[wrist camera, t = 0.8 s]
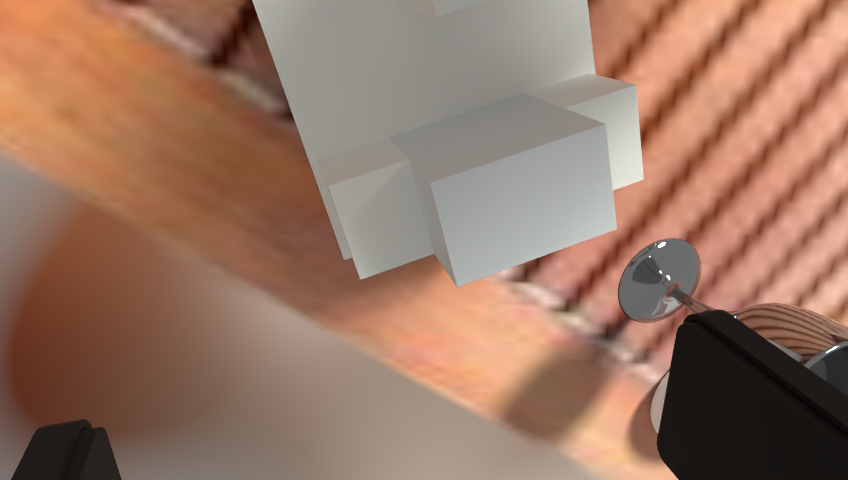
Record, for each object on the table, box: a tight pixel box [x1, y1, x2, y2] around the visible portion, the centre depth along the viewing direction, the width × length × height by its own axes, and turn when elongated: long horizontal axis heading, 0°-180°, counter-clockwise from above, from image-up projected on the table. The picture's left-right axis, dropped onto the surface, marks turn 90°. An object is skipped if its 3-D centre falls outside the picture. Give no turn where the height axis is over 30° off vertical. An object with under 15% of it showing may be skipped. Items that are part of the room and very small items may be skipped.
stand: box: [252, 0, 644, 287], centre depth 30 cm, size 16×18×10 cm
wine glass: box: [619, 238, 848, 396], centre depth 38 cm, size 8×8×15 cm
